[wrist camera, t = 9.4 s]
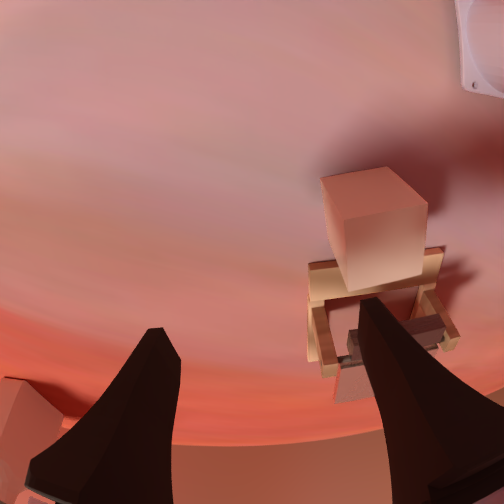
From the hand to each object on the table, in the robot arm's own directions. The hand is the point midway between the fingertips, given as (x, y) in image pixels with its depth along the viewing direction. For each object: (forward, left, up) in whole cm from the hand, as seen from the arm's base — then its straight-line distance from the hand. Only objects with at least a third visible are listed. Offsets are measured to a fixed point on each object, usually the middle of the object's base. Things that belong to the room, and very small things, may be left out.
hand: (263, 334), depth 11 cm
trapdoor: (-9, +9, -5) cm, 14 cm away
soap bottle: (+39, +27, -11) cm, 49 cm away
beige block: (-7, +1, -10) cm, 12 cm away
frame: (-9, +9, -10) cm, 17 cm away
